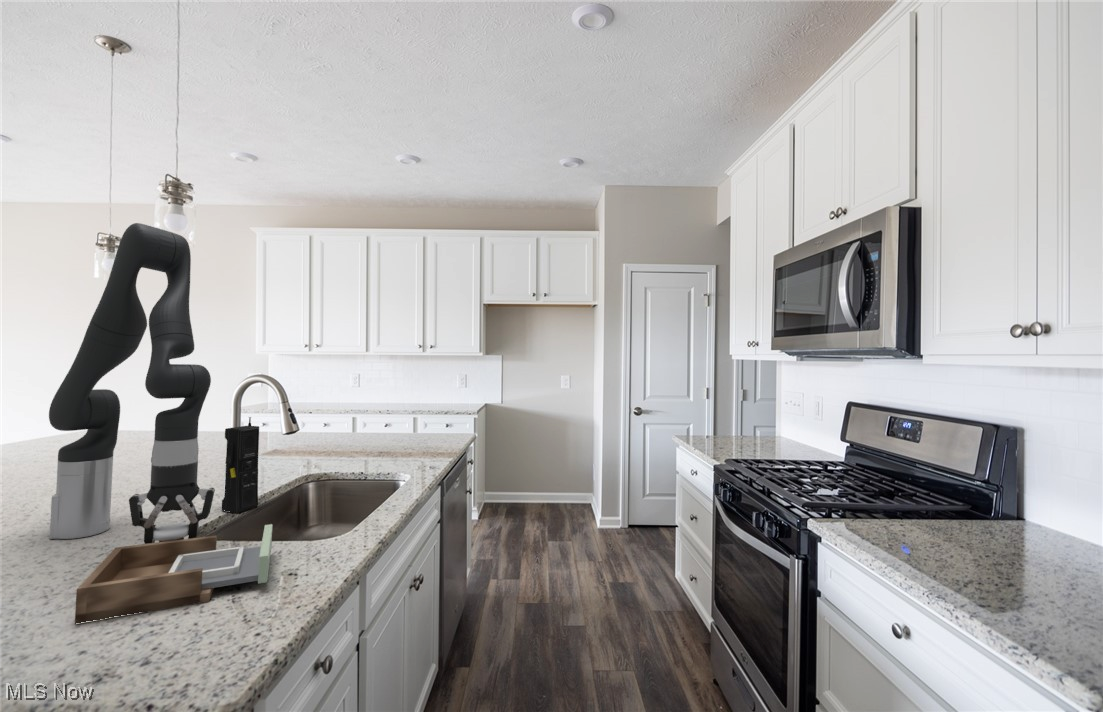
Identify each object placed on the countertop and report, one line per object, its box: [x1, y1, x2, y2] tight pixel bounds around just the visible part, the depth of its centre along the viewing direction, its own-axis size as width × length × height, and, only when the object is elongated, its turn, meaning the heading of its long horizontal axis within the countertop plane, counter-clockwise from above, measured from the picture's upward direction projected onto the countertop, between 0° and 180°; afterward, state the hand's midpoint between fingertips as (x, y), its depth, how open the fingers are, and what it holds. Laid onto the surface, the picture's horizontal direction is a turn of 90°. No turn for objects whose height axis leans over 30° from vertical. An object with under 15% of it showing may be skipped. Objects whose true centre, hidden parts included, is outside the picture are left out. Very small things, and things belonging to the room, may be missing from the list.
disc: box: [153, 522, 190, 542], centre depth 97 cm, size 6×6×2 cm
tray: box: [168, 523, 273, 590], centre depth 89 cm, size 16×18×5 cm
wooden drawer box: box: [74, 535, 218, 625], centre depth 85 cm, size 17×18×6 cm
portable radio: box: [221, 416, 260, 514], centre depth 129 cm, size 8×6×25 cm
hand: (171, 542), depth 97 cm, fingers closed on disc, 6 cm apart
